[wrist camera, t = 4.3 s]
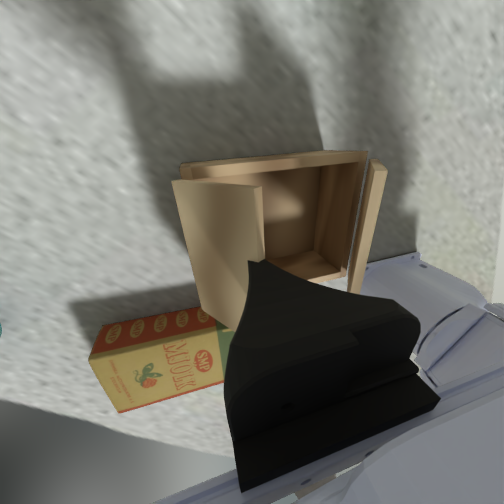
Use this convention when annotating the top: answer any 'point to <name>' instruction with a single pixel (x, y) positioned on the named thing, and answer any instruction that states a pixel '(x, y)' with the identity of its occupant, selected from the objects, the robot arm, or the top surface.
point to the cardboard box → (299, 205)
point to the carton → (160, 357)
